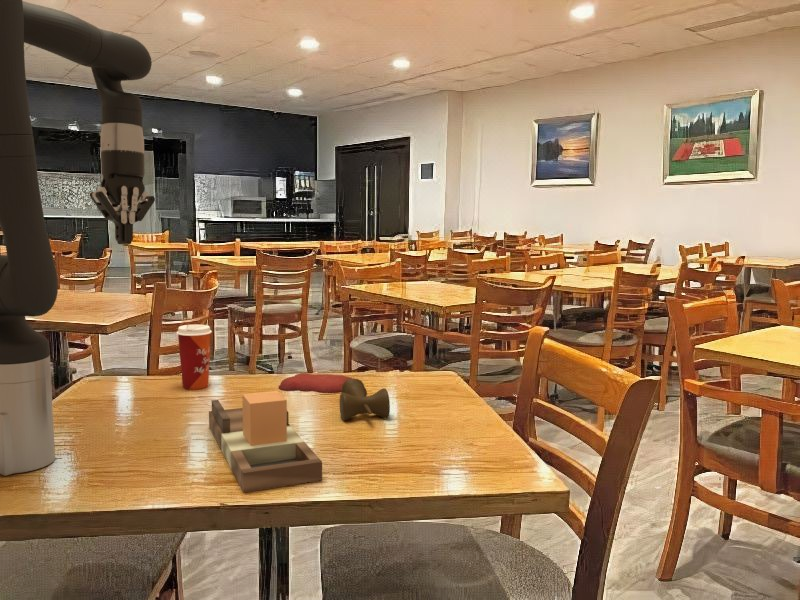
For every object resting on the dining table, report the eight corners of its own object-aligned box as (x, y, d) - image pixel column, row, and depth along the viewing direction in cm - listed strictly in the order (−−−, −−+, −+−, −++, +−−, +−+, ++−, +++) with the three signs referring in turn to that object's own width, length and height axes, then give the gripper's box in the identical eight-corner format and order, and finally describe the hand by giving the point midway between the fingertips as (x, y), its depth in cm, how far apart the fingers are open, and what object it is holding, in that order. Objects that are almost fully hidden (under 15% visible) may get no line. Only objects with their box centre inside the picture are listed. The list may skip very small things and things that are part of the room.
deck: (209, 426, 128) (208, 398, 127) (272, 419, 133) (271, 392, 132) (243, 492, 99) (242, 456, 98) (322, 480, 104) (322, 446, 103)
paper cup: (207, 391, 152) (205, 330, 150) (173, 390, 152) (171, 329, 150) (217, 382, 159) (216, 324, 158) (184, 381, 160) (183, 323, 158)
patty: (272, 392, 154) (272, 383, 154) (290, 377, 168) (290, 369, 167) (347, 396, 152) (347, 388, 151) (360, 381, 165) (360, 373, 165)
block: (242, 434, 115) (242, 394, 114) (277, 429, 118) (277, 390, 117) (250, 445, 110) (250, 403, 109) (286, 440, 112) (286, 400, 111)
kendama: (374, 400, 149) (395, 426, 130) (330, 404, 147) (346, 431, 128) (373, 374, 149) (395, 396, 129) (330, 377, 146) (345, 400, 127)
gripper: (103, 144, 119) (105, 243, 120) (165, 154, 130) (166, 244, 131) (77, 147, 123) (79, 243, 124) (139, 156, 134) (141, 244, 135)
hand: (124, 244), depth 128 cm, fingers closed
